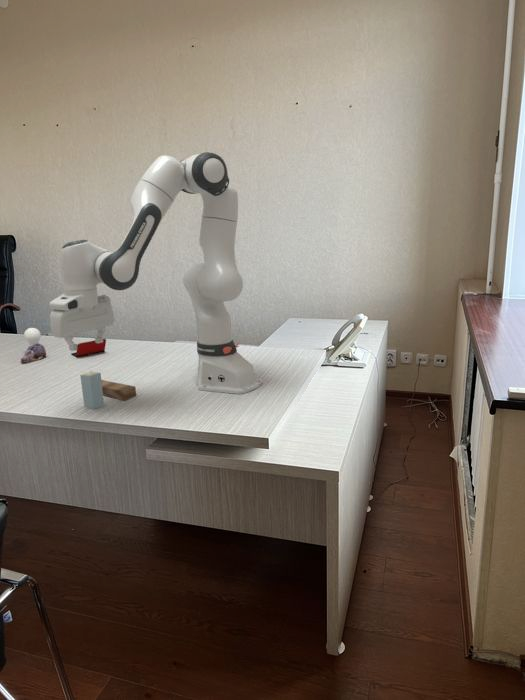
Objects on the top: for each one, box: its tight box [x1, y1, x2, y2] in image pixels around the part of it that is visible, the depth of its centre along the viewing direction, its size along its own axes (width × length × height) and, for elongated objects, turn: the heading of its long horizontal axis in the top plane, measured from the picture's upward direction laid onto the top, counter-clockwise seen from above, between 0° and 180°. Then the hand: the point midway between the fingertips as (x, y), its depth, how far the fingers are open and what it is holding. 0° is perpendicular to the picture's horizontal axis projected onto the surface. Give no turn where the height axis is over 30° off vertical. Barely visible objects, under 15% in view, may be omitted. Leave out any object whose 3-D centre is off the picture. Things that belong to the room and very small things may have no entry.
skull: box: [20, 342, 47, 364], centre depth 208 cm, size 12×8×6 cm, turn 159°
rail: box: [101, 379, 137, 402], centre depth 168 cm, size 16×5×3 cm, turn 59°
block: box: [80, 370, 105, 410], centre depth 157 cm, size 4×4×10 cm
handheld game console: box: [70, 338, 107, 358], centre depth 214 cm, size 12×10×7 cm
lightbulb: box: [23, 327, 42, 347], centre depth 217 cm, size 6×6×11 cm
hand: (86, 346), depth 154 cm, fingers open, 8 cm apart
